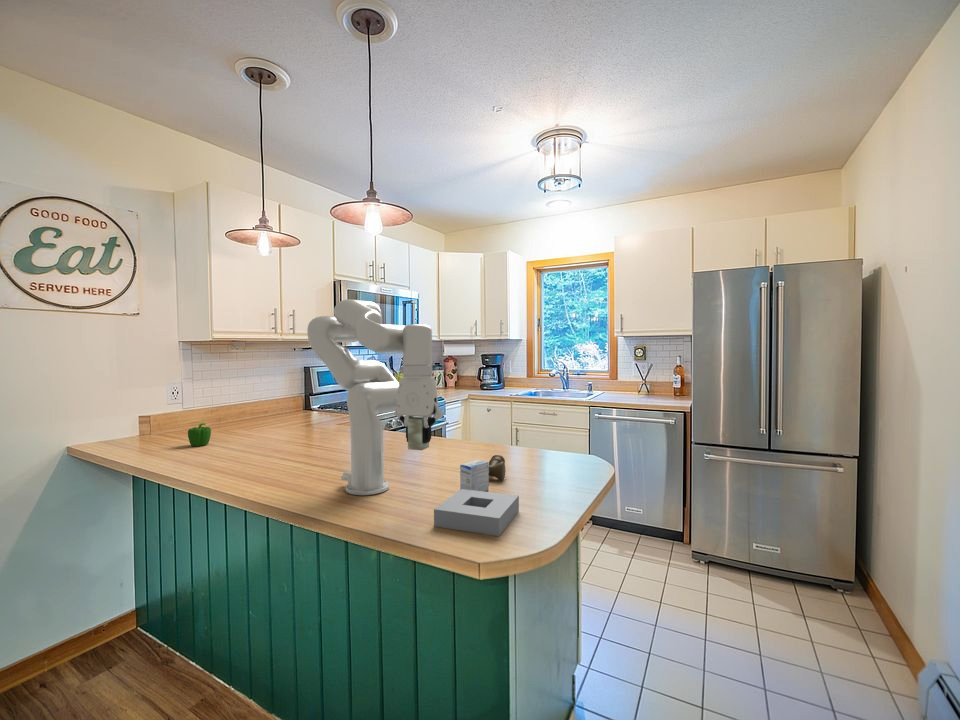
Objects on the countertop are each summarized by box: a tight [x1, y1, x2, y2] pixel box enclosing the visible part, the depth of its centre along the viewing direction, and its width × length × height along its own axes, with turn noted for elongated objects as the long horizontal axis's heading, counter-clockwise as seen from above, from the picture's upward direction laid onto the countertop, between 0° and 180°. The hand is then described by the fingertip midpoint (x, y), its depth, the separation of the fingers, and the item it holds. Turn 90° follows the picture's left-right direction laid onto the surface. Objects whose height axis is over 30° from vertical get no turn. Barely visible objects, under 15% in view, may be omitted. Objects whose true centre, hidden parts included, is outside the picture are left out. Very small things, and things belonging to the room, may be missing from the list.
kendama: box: [488, 454, 506, 482], centre depth 142 cm, size 6×10×20 cm
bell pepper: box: [187, 422, 212, 447], centre depth 191 cm, size 8×8×10 cm
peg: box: [407, 416, 430, 451], centre depth 114 cm, size 4×4×8 cm
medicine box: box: [459, 459, 490, 492], centre depth 126 cm, size 8×4×9 cm, turn 141°
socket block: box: [433, 488, 520, 537], centre depth 106 cm, size 16×16×4 cm
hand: (418, 441), depth 114 cm, fingers closed on peg, 3 cm apart
